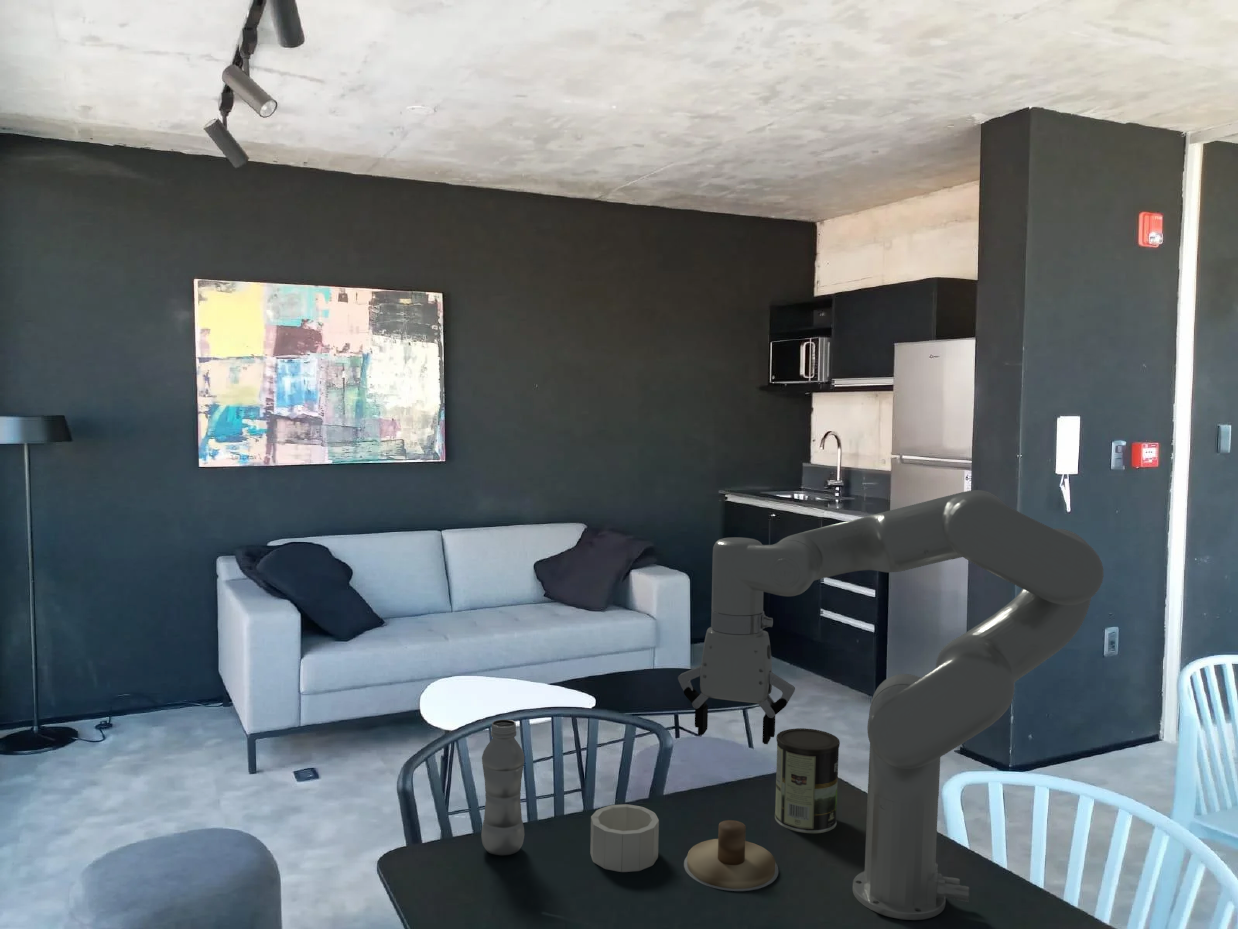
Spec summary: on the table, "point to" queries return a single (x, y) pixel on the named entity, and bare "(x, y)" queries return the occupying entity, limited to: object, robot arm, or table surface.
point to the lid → (731, 859)
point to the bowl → (624, 838)
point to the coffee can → (806, 780)
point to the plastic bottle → (503, 790)
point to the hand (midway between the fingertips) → (734, 736)
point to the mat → (729, 888)
